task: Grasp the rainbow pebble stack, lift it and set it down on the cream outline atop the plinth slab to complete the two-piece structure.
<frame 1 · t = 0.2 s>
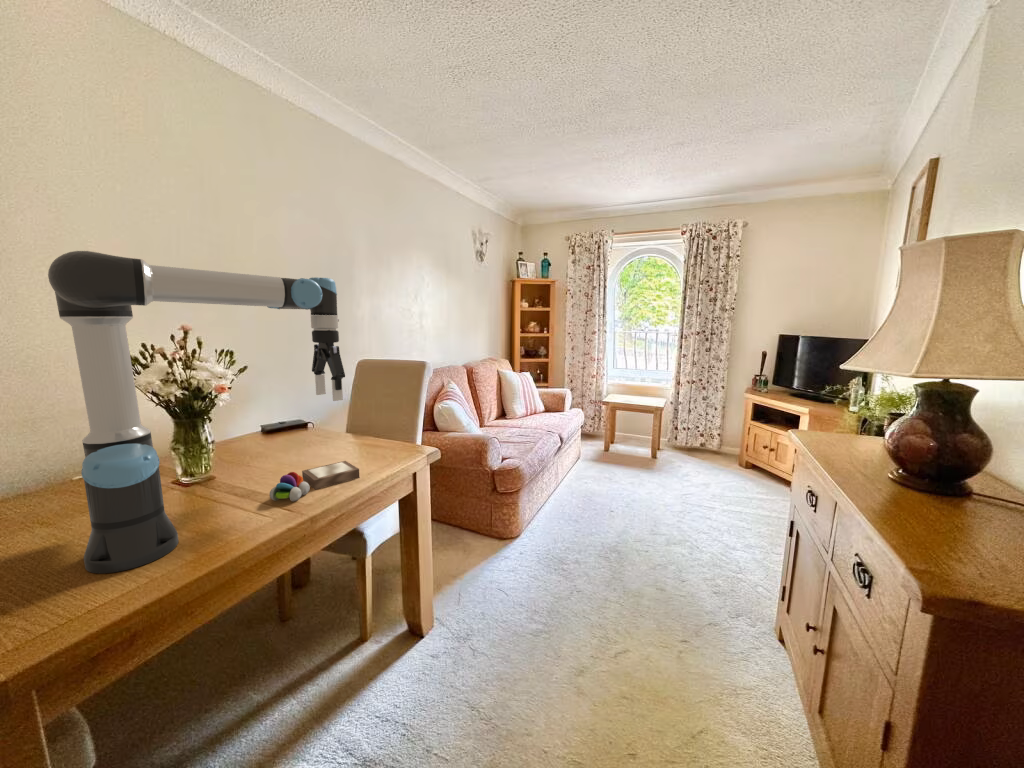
hand: (329, 397, 128), 27 cm above the table, fingers open, 13 cm apart
plinth: (331, 478, 133), on the table
rainbow pebble stack: (290, 498, 119), on the table
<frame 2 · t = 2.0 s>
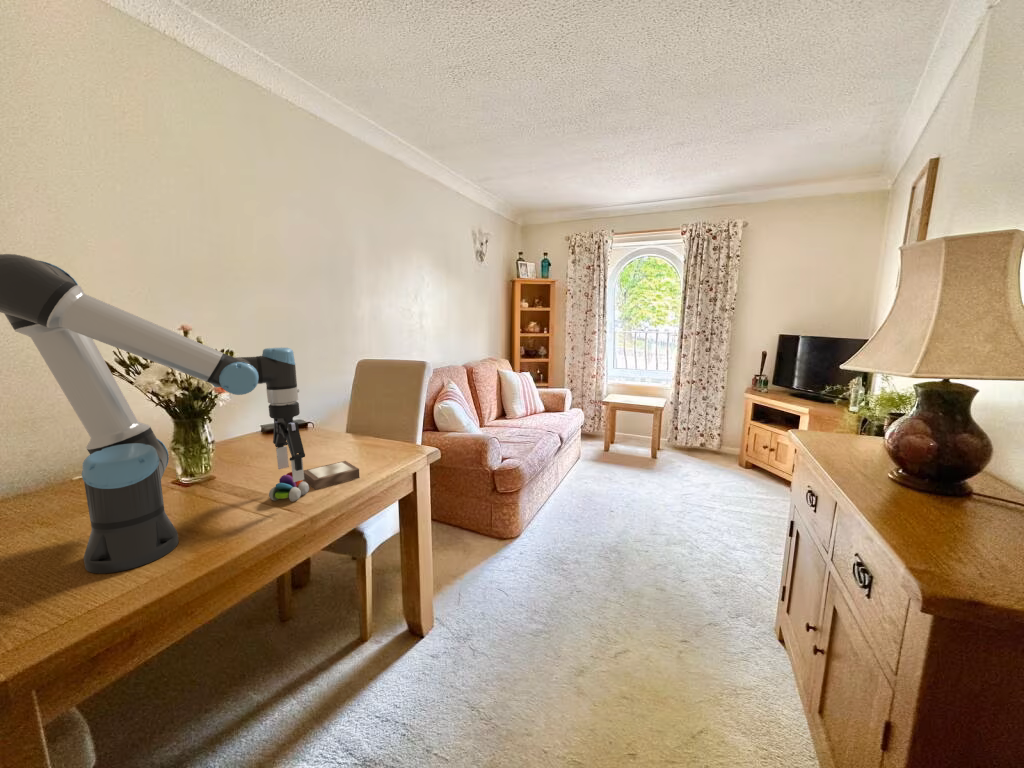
hand: (290, 474, 118), 7 cm above the table, fingers open, 13 cm apart
nothing on the table moved.
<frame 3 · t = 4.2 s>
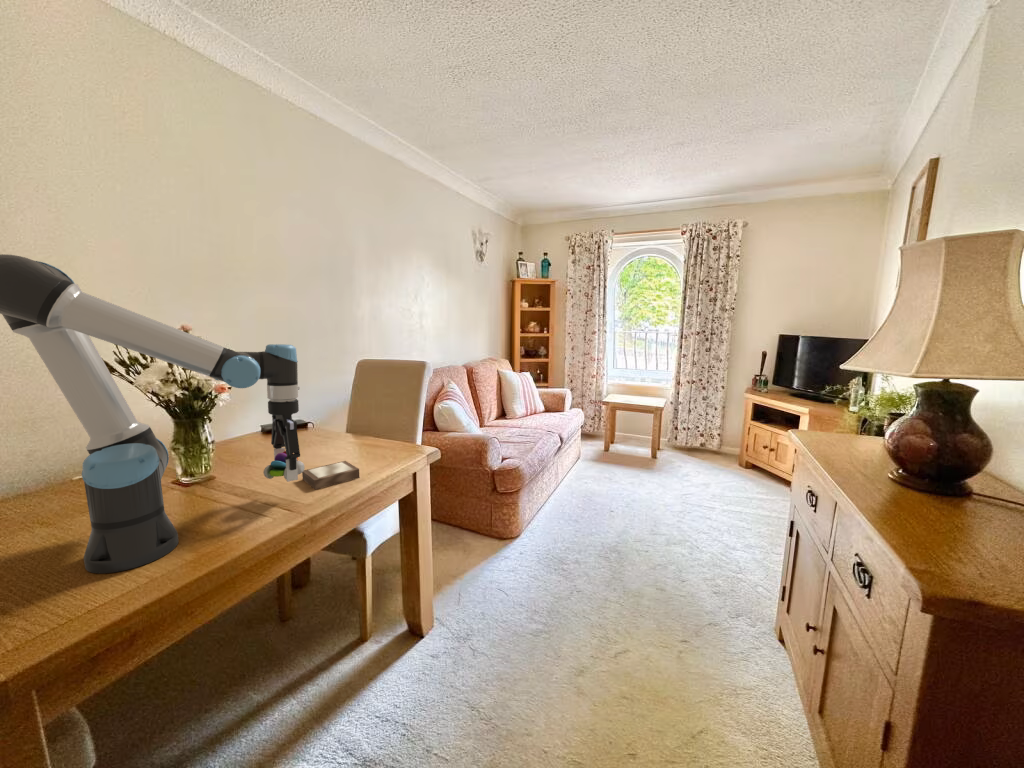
hand: (286, 474, 117), 7 cm above the table, fingers closed on rainbow pebble stack, 10 cm apart
rainbow pebble stack: (284, 477, 117), point 6 cm above the table, touching gripper
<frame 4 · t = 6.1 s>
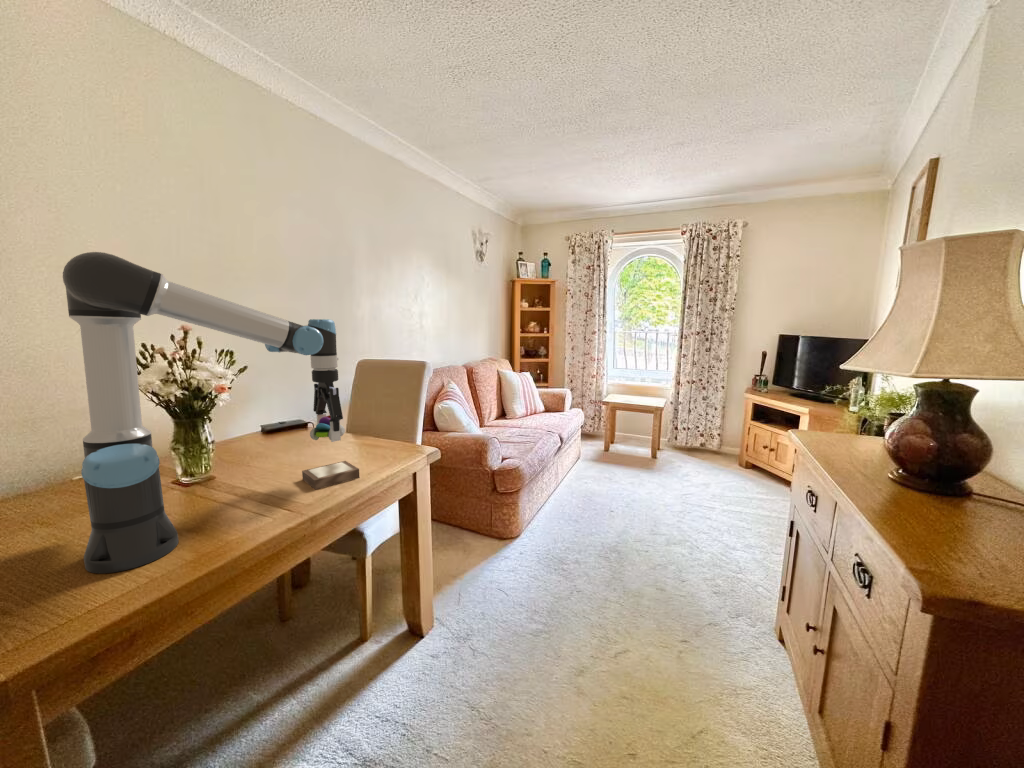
hand: (329, 437, 131), 14 cm above the table, fingers closed on rainbow pebble stack, 10 cm apart
rainbow pebble stack: (328, 438, 131), point 14 cm above the table, touching gripper
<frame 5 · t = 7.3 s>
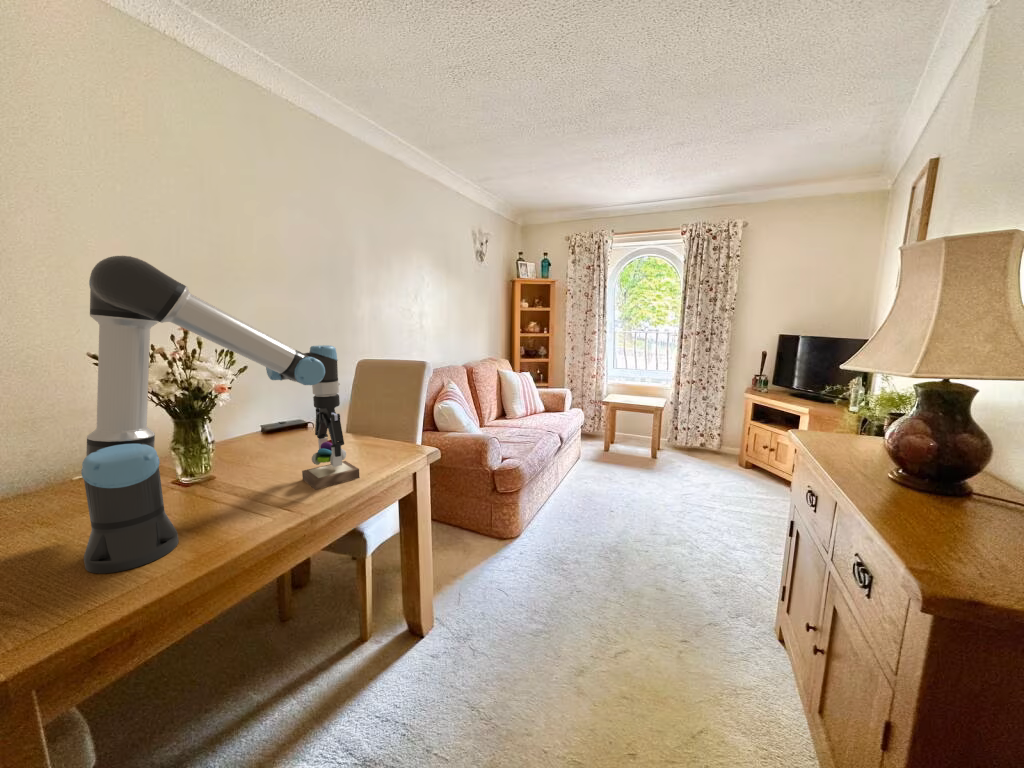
hand: (330, 461, 132), 6 cm above the table, fingers closed on rainbow pebble stack, 10 cm apart
rainbow pebble stack: (329, 463, 132), point 5 cm above the table, touching gripper
when the fingers open (4 cm above the table, at t = 8.3 s): rainbow pebble stack stays where it is, resting on plinth.
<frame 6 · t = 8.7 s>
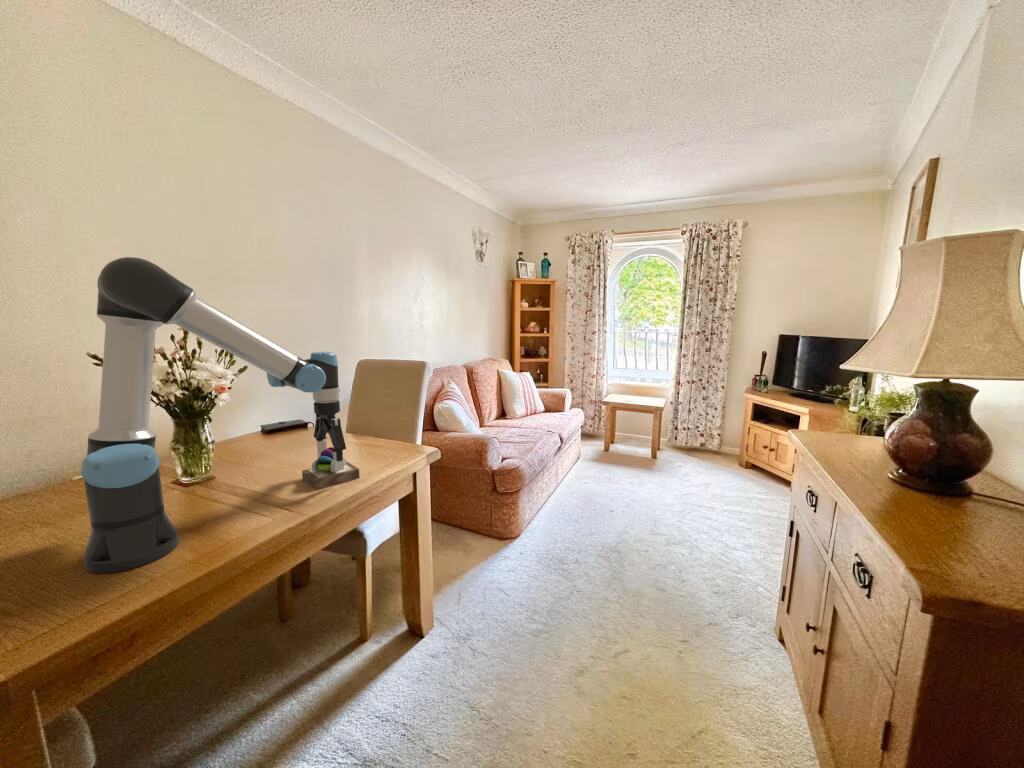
hand: (330, 464, 132), 5 cm above the table, fingers open, 13 cm apart
rainbow pebble stack: (329, 470, 132), point 3 cm above the table, touching plinth
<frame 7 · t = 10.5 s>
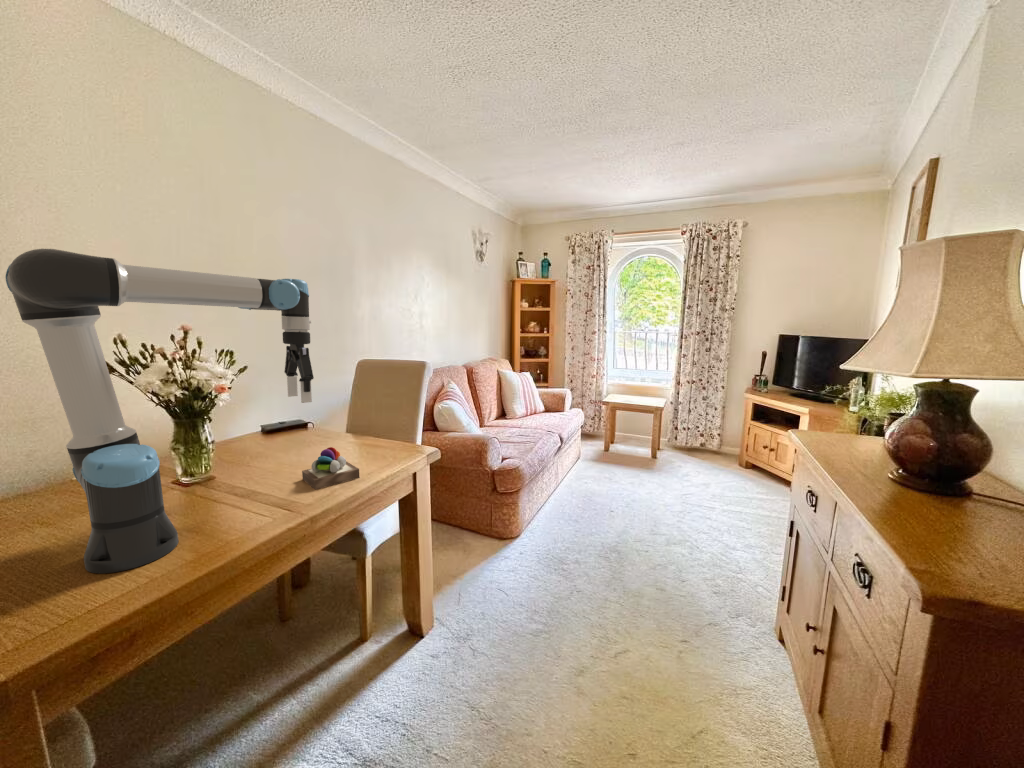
hand: (299, 399, 128), 27 cm above the table, fingers open, 13 cm apart
nothing on the table moved.
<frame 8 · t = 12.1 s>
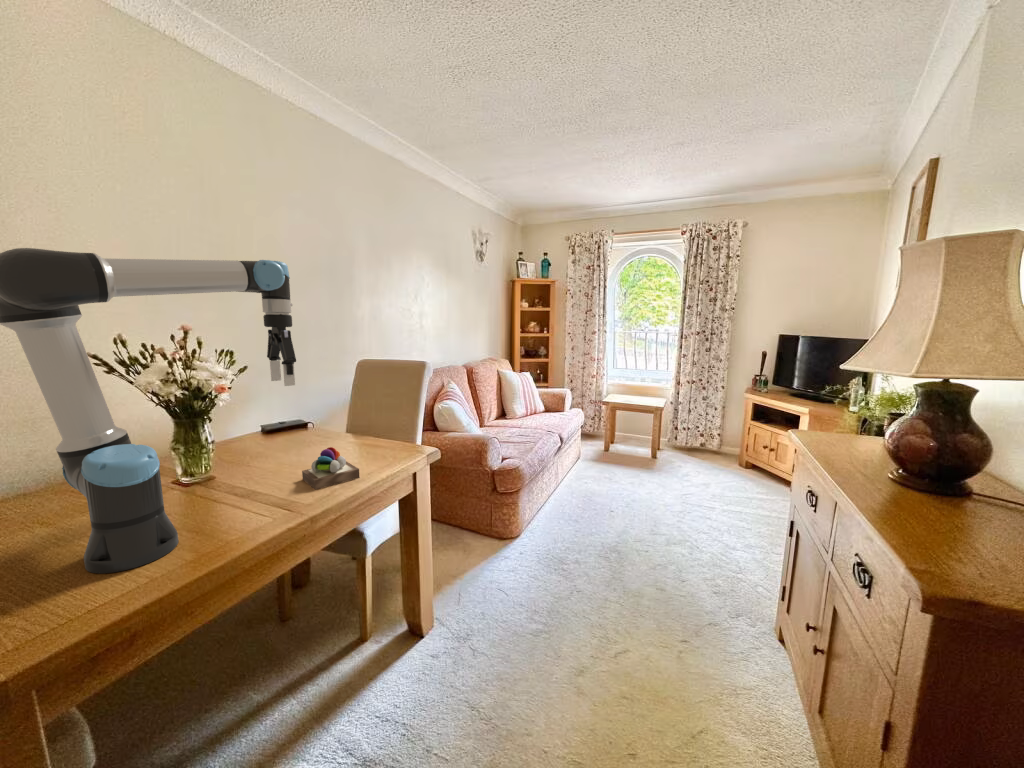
hand: (282, 383, 127), 32 cm above the table, fingers open, 13 cm apart
nothing on the table moved.
at the end: rainbow pebble stack inside the target area on the plinth (0.4 cm from its centre), point 2.9 cm above the plinth's base; rainbow pebble stack tilted 0°; the gripper is holding nothing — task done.
